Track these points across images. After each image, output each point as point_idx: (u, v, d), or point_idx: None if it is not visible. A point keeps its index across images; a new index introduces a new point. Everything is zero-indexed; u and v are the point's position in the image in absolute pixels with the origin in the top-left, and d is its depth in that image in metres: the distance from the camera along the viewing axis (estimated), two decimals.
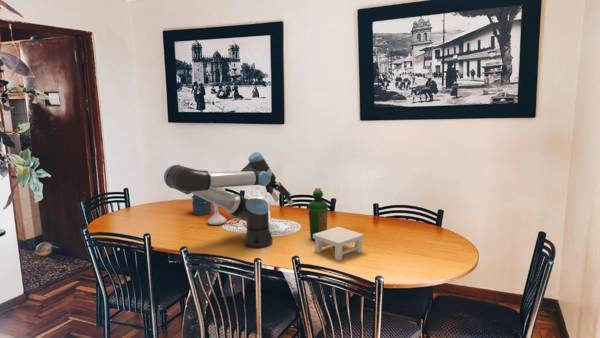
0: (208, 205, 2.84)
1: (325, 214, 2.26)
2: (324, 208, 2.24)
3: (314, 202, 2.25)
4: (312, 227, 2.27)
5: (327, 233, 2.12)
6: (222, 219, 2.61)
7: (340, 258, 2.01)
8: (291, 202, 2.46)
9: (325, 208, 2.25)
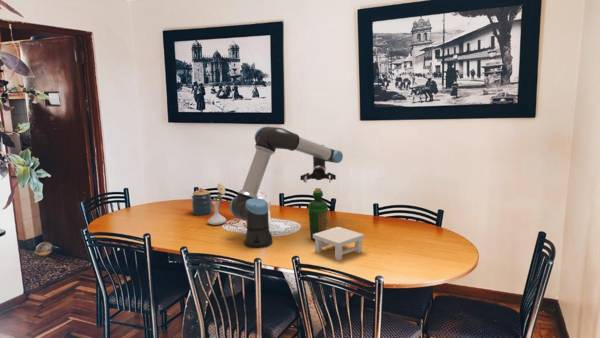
0: (208, 205, 2.84)
1: (325, 214, 2.26)
2: (324, 208, 2.24)
3: (314, 202, 2.25)
4: (312, 227, 2.27)
5: (327, 233, 2.12)
6: (222, 219, 2.61)
7: (340, 258, 2.01)
8: (330, 180, 2.36)
9: (325, 208, 2.25)
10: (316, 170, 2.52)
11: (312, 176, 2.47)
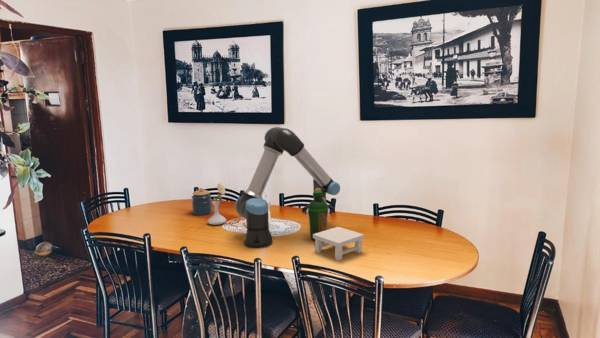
0: (208, 205, 2.84)
1: (325, 214, 2.26)
2: (324, 208, 2.24)
3: (314, 202, 2.25)
4: (312, 227, 2.27)
5: (327, 233, 2.12)
6: (222, 219, 2.61)
7: (340, 258, 2.01)
8: None
9: (325, 208, 2.25)
10: None
11: None
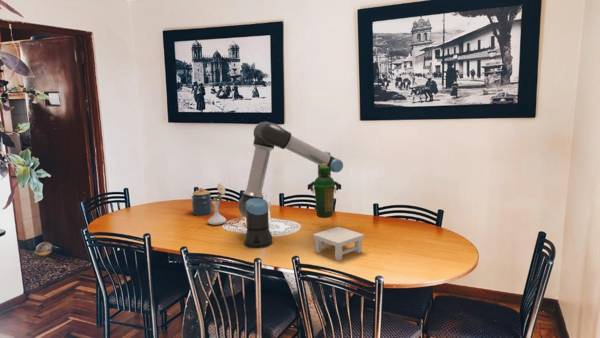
0: (208, 205, 2.84)
1: (332, 190, 2.20)
2: (331, 184, 2.18)
3: (320, 178, 2.19)
4: (318, 204, 2.21)
5: (327, 233, 2.12)
6: (222, 219, 2.61)
7: (340, 258, 2.01)
8: None
9: (332, 184, 2.19)
10: None
11: None
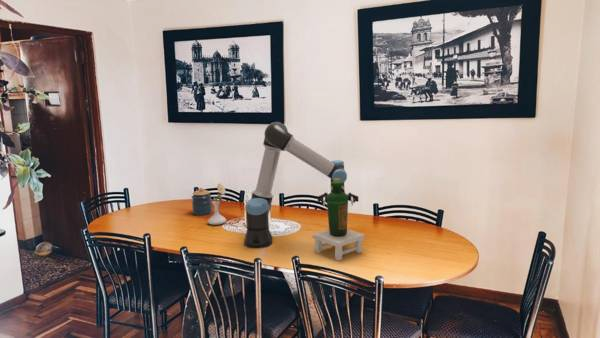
0: (208, 205, 2.84)
1: (345, 207, 2.05)
2: (344, 200, 2.03)
3: (333, 193, 2.04)
4: (331, 221, 2.06)
5: (327, 233, 2.12)
6: (222, 219, 2.61)
7: (340, 258, 2.01)
8: (353, 202, 2.05)
9: (345, 200, 2.04)
10: None
11: None
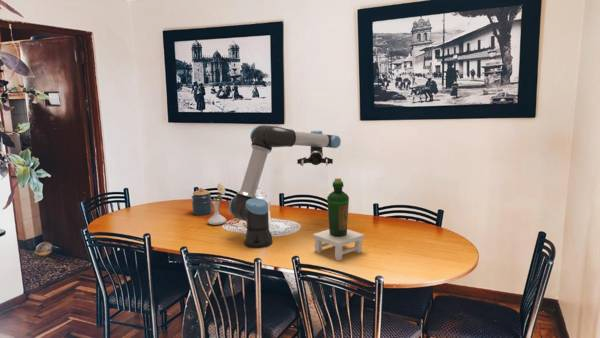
0: (208, 205, 2.84)
1: (346, 207, 2.05)
2: (345, 200, 2.03)
3: (334, 194, 2.04)
4: (332, 221, 2.06)
5: (327, 233, 2.12)
6: (222, 219, 2.61)
7: (340, 258, 2.01)
8: (327, 163, 2.36)
9: (346, 200, 2.04)
10: (313, 155, 2.52)
11: (309, 160, 2.46)
